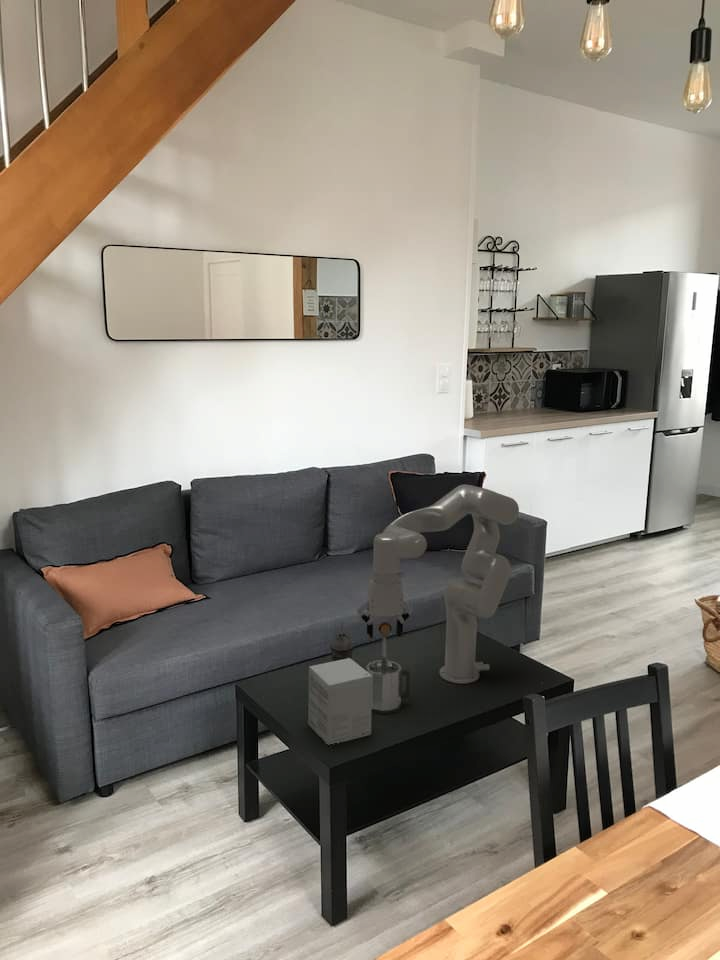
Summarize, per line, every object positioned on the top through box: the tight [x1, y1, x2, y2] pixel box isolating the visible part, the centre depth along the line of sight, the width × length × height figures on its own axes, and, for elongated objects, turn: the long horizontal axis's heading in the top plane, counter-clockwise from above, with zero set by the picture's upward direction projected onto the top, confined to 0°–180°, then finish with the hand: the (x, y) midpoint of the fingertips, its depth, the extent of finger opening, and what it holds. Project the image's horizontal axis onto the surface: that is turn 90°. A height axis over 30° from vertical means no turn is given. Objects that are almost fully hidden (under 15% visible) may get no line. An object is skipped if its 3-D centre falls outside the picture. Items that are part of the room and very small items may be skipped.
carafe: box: [365, 659, 411, 715], centre depth 227 cm, size 13×10×12 cm
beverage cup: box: [330, 621, 355, 662], centre depth 241 cm, size 7×7×20 cm
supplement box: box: [307, 658, 372, 746], centre depth 212 cm, size 13×13×18 cm
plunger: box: [372, 620, 396, 674], centre depth 225 cm, size 8×8×16 cm
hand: (384, 635), depth 224 cm, fingers open, 7 cm apart
